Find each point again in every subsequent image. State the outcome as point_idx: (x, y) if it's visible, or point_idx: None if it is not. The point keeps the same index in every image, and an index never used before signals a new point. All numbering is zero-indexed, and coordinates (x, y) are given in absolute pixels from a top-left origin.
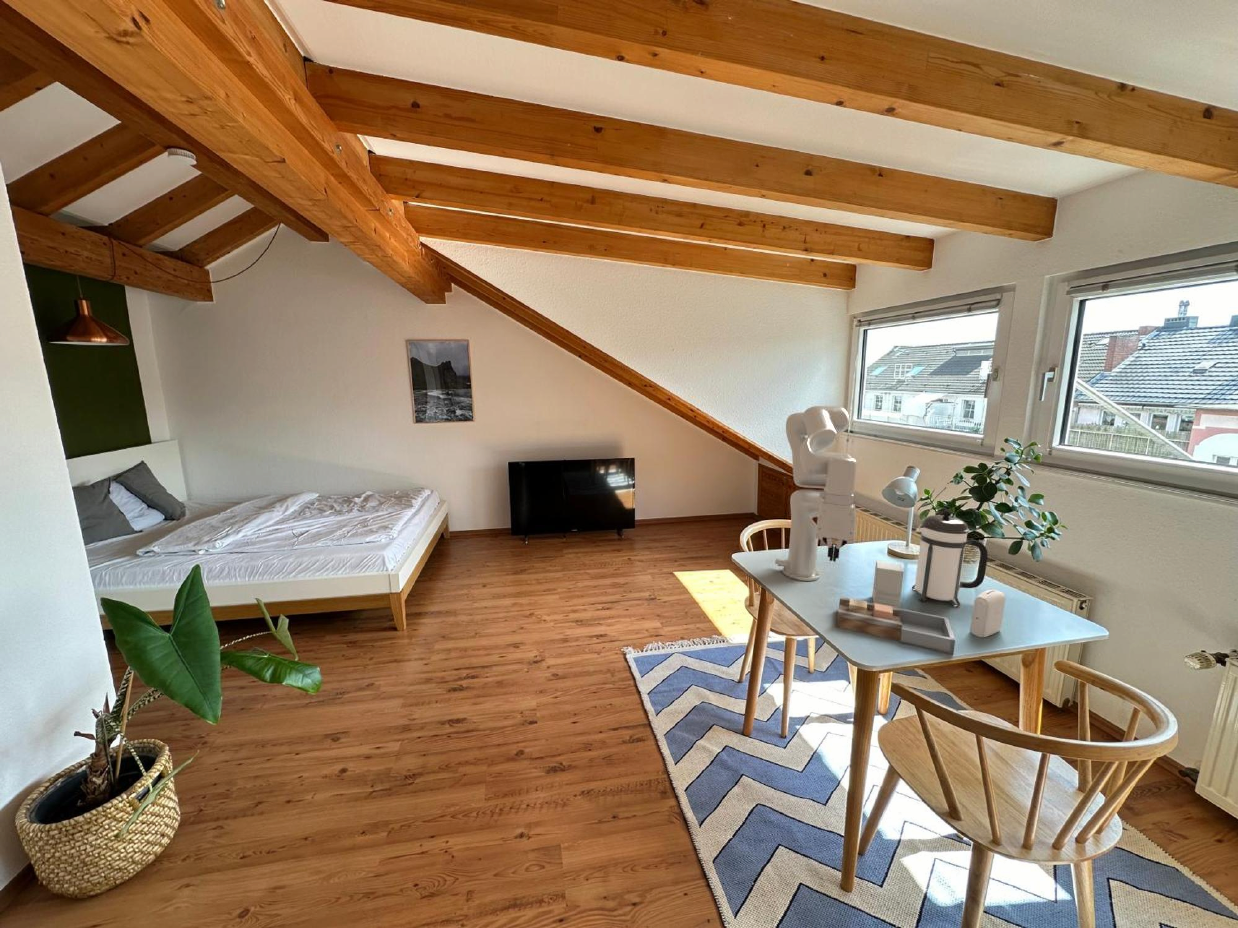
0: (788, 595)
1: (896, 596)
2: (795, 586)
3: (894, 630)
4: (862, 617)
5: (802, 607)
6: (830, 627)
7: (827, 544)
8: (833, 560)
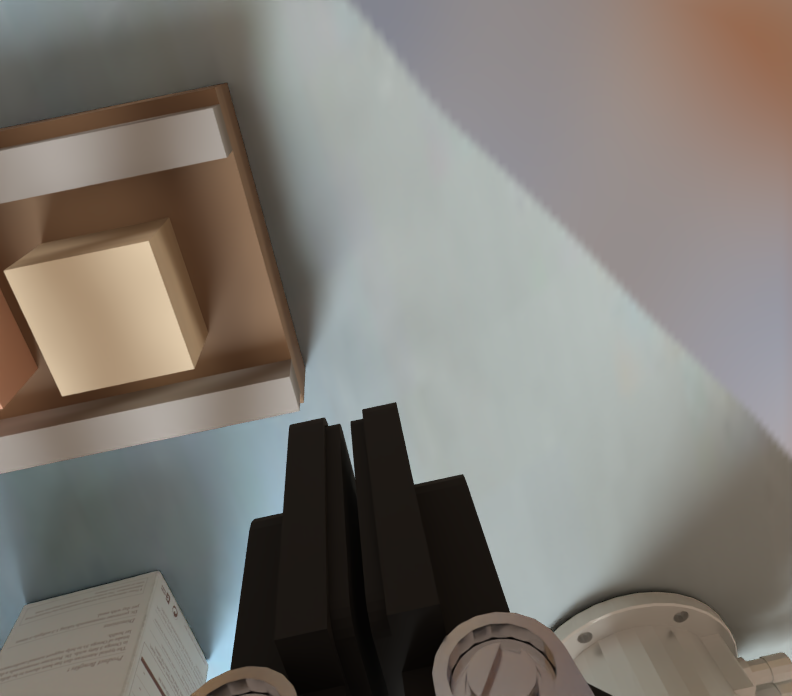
0: (641, 358)
1: (11, 667)
2: (624, 508)
3: None
4: (12, 148)
5: (520, 238)
6: (257, 35)
7: (575, 680)
8: (328, 427)
